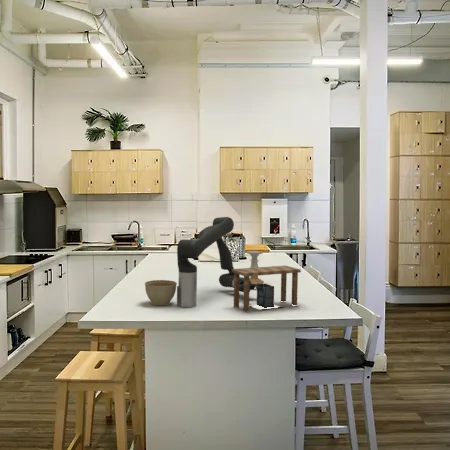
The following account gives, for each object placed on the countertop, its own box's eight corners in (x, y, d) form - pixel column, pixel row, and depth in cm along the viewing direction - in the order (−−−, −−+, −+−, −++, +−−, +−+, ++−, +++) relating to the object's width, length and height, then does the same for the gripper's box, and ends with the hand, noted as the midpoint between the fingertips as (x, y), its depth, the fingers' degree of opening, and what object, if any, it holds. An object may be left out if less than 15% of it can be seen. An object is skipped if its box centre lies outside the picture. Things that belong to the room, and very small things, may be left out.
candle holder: (240, 282, 321) (241, 250, 320) (257, 281, 327) (257, 250, 326) (250, 285, 311) (251, 253, 309) (267, 284, 316) (268, 252, 315)
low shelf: (244, 312, 242) (245, 273, 240) (230, 306, 254) (231, 269, 253) (299, 306, 256) (300, 269, 255) (284, 301, 269) (285, 265, 267)
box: (256, 304, 257) (256, 284, 257) (265, 303, 260) (266, 283, 259) (264, 308, 250) (264, 287, 250) (274, 307, 253) (274, 286, 252)
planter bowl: (145, 307, 249) (145, 286, 248) (144, 300, 265) (144, 280, 264) (178, 306, 252) (178, 285, 251) (174, 299, 268) (175, 279, 267)
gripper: (230, 278, 274) (244, 283, 259) (253, 276, 280) (268, 281, 265) (230, 292, 274) (244, 298, 260) (253, 290, 280) (268, 295, 266)
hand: (256, 289), depth 263 cm, fingers open, 8 cm apart
